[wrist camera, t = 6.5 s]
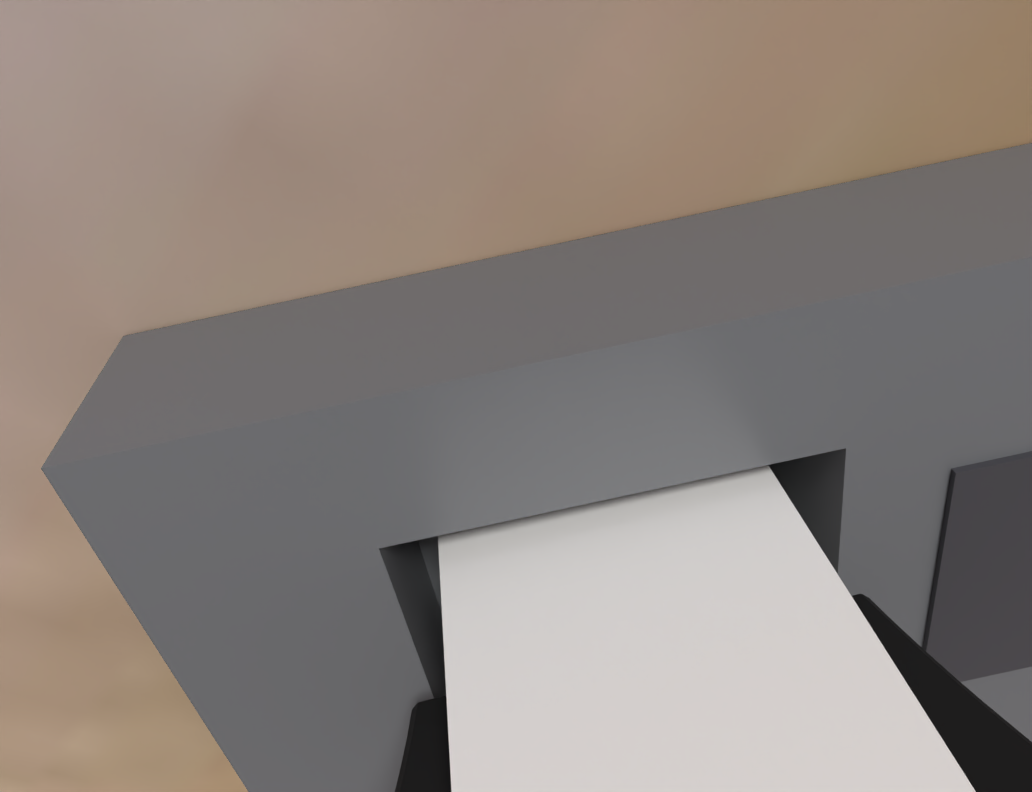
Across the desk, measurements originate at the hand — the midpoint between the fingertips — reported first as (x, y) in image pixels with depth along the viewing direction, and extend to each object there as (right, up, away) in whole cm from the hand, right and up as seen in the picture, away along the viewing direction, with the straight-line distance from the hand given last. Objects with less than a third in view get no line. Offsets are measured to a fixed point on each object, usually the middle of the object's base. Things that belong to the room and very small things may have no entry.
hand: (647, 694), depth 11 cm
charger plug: (0, +2, +2) cm, 3 cm away
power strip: (+4, +3, +3) cm, 6 cm away
